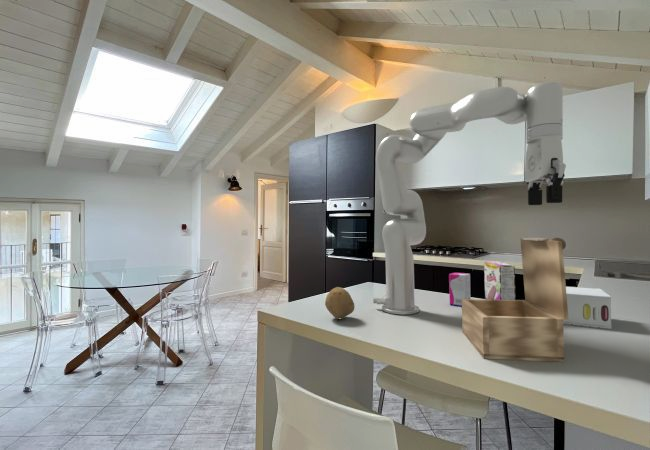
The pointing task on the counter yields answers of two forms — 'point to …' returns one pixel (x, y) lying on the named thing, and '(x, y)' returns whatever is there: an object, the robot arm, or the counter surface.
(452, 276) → the supplement box
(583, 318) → the supplement box
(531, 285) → the wooden box lid
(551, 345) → the wooden box
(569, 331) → the counter surface
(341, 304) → the brown potato
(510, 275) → the candy bar box
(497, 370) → the counter surface
